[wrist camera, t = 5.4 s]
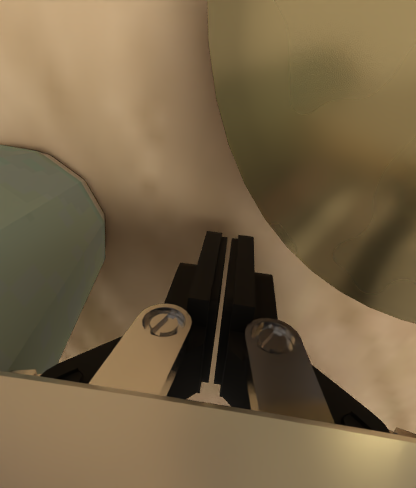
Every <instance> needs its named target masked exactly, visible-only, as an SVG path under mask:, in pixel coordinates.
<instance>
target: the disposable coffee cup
mask: <svg viewBox="0 0 416 488" xmlns="http://www.w3.org/2000/svg"><path fill="white" fill-rule="evenodd" d="M104 260H105V215H104V213H103V211H102V209H101V208H100V206H99V204H98V203H97V201H96V199H95V197H94V196H93V194H92V192H91V190H90V189H89V187H88V185H87V184H86V182H85V180H84V179H82V178H81V177H79V176H78V175H77V174H75V173H74V172H73V171H71V170H70V169H68V168H67V167H66V166H64V165H63V164H61V163H60V162H59V161H57V160H56V159H55V158H53V157H52V156H50V155H49V154H43V153H40V152H39V151H34V150H28V149H22V148H17V147H11V146H5V145H0V371H4V372H10V371H11V370H33V369H36V372H37V374H42V373H44V372H45V371H46V370H47V369H49V368H51V367H53V366H55V365H56V364H58V362H59V359H60V357H61V355H62V353H63V351H64V348H65V346H66V344H67V342H68V339H69V337H70V335H71V333H72V331H73V328H74V326H75V324H76V322H77V320H78V317H79V315H80V313H81V311H82V309H83V306H84V304H85V302H86V300H87V298H88V295H89V293H90V291H91V289H92V287H93V284H94V282H95V280H96V278H97V276H98V273H99V271H100V269H101V267H102V264H103V262H104Z"/></svg>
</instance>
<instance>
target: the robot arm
mask: <svg viewBox="0 0 416 488" xmlns="http://www.w3.org/2000/svg"><path fill="white" fill-rule="evenodd" d="M226 245H227V237H222V233H219V232H211V231H207V233H206V236H205V240H204V243H203V247H202V250H201V254H200V257H199V261H198V264H197V265H194V264H186V263H180V264H179V267H178V269H177V272H176V274H175V277H174V280H173V282H172V285H171V287H170V290H169V292H168V295H167V298H166V300H165V303H164V304H156V305H153V306H150V307H148V308H146V309H144V310H143V311H142V312H141V313H140V314H139V315H138V316H137V318H136V319H135V321H134V322H133V323H132V325H131V326H130V327H129V329H128V330H127V332H126V333H125V334H124V336H122V337H120V338H117V339H115V340H113V341H110V342H108V343H106V344H103V345H101V346H99V347H96V348H94V349H92V350H89V351H87V352H85V353H82V354H80V355H78V356H75V357H73V358H70V359H68V360H66V361H63V362H61V363H59V364H56V365H55V366H53V367H51V368H49V369H47V370H46V371H45V372H44V373H42V374H37V372H36V369H33V370H11V371H10V372H4V371H0V488H416V434H414V433H411V432H408V431H405V430H402V429H400V428H397V427H396V429H395V431H394V432H393V431H390V430H388V429H387V427H386V426H385V424H384V423H383V422H382V421H381V420H380V419H379V418H378V417H376V416H375V415H374V414H373V413H372V412H370V411H369V410H368V409H367V408H365V407H364V406H363V405H362V404H360V403H359V402H358V401H357V400H355V399H354V398H353V397H352V396H350V395H349V394H348V393H347V392H345V391H344V390H343V389H342V388H340V387H339V386H338V385H337V384H335V383H334V382H333V381H332V380H330V379H329V378H328V377H327V376H325V375H324V374H323V373H321V372H320V371H319V370H318V369H316V368H315V367H314V366H313V365H311V363H310V360H309V358H308V355H307V353H306V350H305V348H304V345H303V343H302V340H301V338H300V336H299V335H298V333H297V331H295V330H294V329H293V328H292V327H291V326H290V325H288V324H286V323H285V322H283V321H280V320H278V318H277V309H276V301H275V293H274V284H273V277H272V275H269V274H262V273H255V270H254V237H251V236H243V235H238V239H235V238H232V242H231V250H230V258H229V265H228V273H227V280H226V288H225V296H224V303H223V312H222V320H221V328H220V337H219V345H218V353H217V362H216V370H215V379H214V384H220V385H221V388H220V397H223V398H224V399H225V400H226V401H227V402H228V403H229V404H230V406H231V407H230V406H224V405H217V404H211V403H205V402H199V401H193V400H187V398H189V397H190V396H192V395H193V394H195V393H200V388H201V382H207V383H208V382H209V375H210V367H211V360H212V353H213V346H214V338H215V331H216V324H217V317H218V309H219V302H220V294H221V286H222V278H223V270H224V262H225V253H226Z"/></svg>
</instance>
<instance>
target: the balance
mask: <svg viewBox="0 0 416 488" xmlns="http://www.w3.org/2000/svg"><path fill="white" fill-rule="evenodd" d="M207 9H208V43H209V50H210V58H211V65H212V72H213V79H214V86H215V93H216V99H217V103H218V107H219V110H220V114H221V118H222V122H223V125H224V129H225V133H226V137H227V140H228V144H229V147H230V149H231V152H232V154H233V156H234V159H235V161H236V164H237V166H238V169H239V171H240V174H241V176H242V179H243V181H244V183H245V185H246V187H247V189H248V191H249V192H250V194H251V196H252V198H253V199H254V201H255V203H256V204H257V206H258V208H259V210H260V211H261V213H262V215H263V217H264V218H265V220H266V221H267V222H268V223H269V225H270V226H271V227H272V229H273V230H274V231H275V232H276V234H277V235H278V236H279V237H280V239H281V240H282V241H283V243H284V244H285V245H286V246H287V248H289V249H290V250H291V251H292V252H293V253H294V254H295V255H296V256H297V257H298V258H299V259H300V260H301V261H302V262H303V263H304V264H305V265H306V266H307V267H308V268H309V269H310V270H311V271H313V272H314V273H315V274H317V275H318V276H319V277H321V278H322V279H324V280H325V281H326V282H328V283H329V284H330V285H332V286H333V287H335V288H336V289H337V290H339V291H340V292H342V293H344V294H346V295H348V296H349V297H351V298H353V299H355V300H357V301H359V302H361V303H362V304H364V305H366V306H368V307H370V308H372V309H375V310H378V311H380V312H383V313H385V314H388V315H391V316H393V317H396V318H398V319H401V320H404V321H408V322H412V323H416V0H207Z"/></svg>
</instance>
